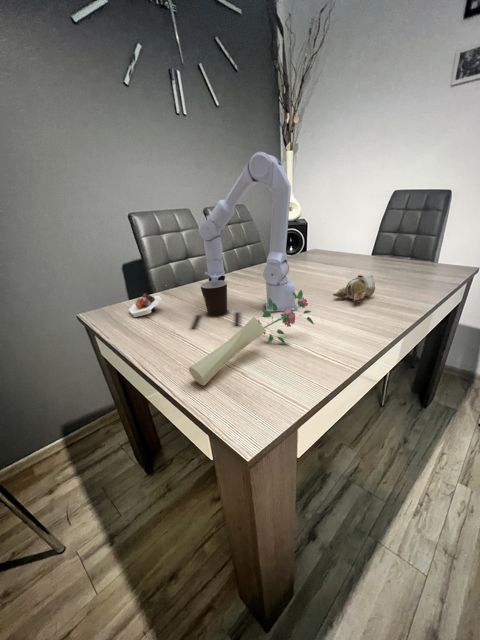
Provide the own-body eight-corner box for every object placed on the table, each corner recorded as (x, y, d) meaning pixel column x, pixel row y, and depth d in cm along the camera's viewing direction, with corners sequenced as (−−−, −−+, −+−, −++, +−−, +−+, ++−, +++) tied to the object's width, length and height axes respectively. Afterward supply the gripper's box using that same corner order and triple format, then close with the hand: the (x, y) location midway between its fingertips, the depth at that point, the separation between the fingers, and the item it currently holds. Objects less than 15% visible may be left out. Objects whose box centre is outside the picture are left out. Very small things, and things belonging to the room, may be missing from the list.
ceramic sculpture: (386, 272, 94) (357, 284, 87) (382, 296, 98) (355, 309, 91) (360, 268, 101) (331, 278, 95) (358, 290, 106) (331, 301, 99)
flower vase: (203, 401, 64) (290, 323, 82) (232, 413, 55) (323, 321, 73) (176, 361, 59) (274, 287, 77) (203, 367, 50) (308, 281, 68)
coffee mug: (226, 318, 89) (222, 288, 84) (201, 317, 90) (195, 288, 85) (235, 305, 99) (232, 277, 94) (212, 305, 100) (208, 277, 95)
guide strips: (238, 313, 92) (238, 312, 92) (238, 325, 83) (238, 324, 83) (197, 316, 91) (196, 315, 91) (192, 328, 83) (192, 327, 83)
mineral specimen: (171, 305, 96) (160, 287, 92) (145, 325, 91) (132, 307, 87) (156, 301, 104) (145, 284, 100) (131, 319, 99) (118, 303, 95)
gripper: (205, 255, 100) (210, 291, 107) (199, 264, 87) (206, 304, 94) (224, 254, 100) (228, 290, 107) (221, 262, 88) (226, 303, 94)
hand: (219, 296), depth 101 cm, fingers closed
